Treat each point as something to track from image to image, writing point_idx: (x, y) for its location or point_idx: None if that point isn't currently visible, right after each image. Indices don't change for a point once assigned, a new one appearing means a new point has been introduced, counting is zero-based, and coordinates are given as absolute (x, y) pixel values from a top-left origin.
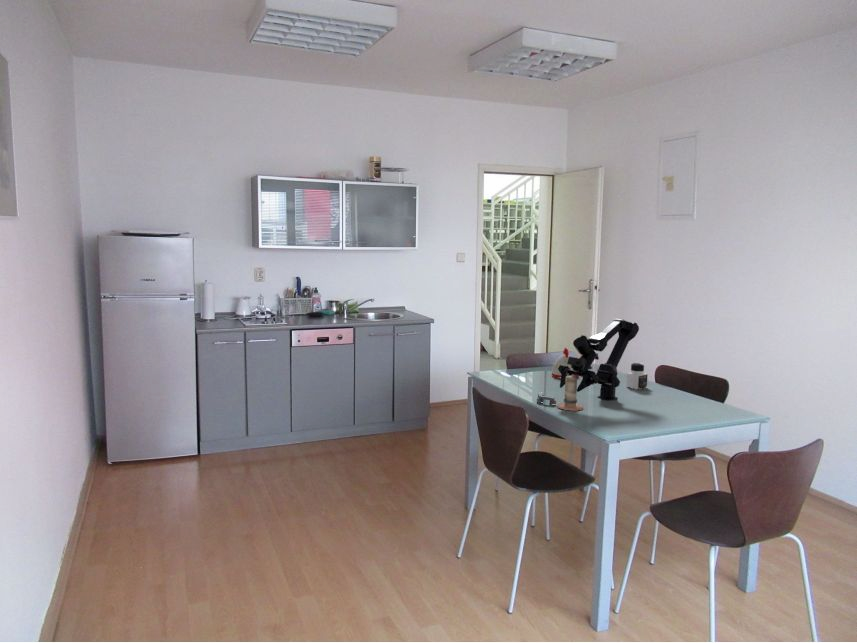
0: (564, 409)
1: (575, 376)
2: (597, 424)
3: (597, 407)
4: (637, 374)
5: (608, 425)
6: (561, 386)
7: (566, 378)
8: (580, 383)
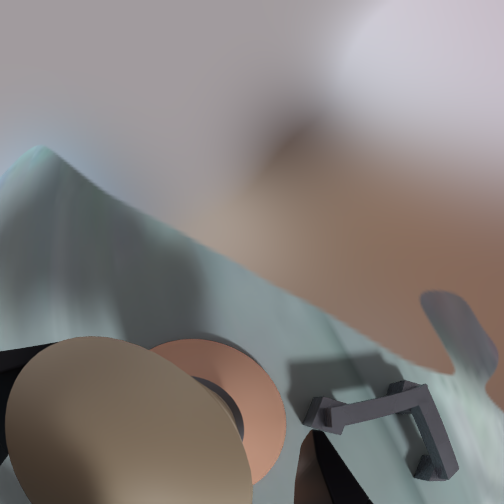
0: (201, 340)
1: None
2: (39, 209)
3: None
4: None
5: (12, 220)
6: (304, 449)
7: (190, 376)
8: (1, 366)
